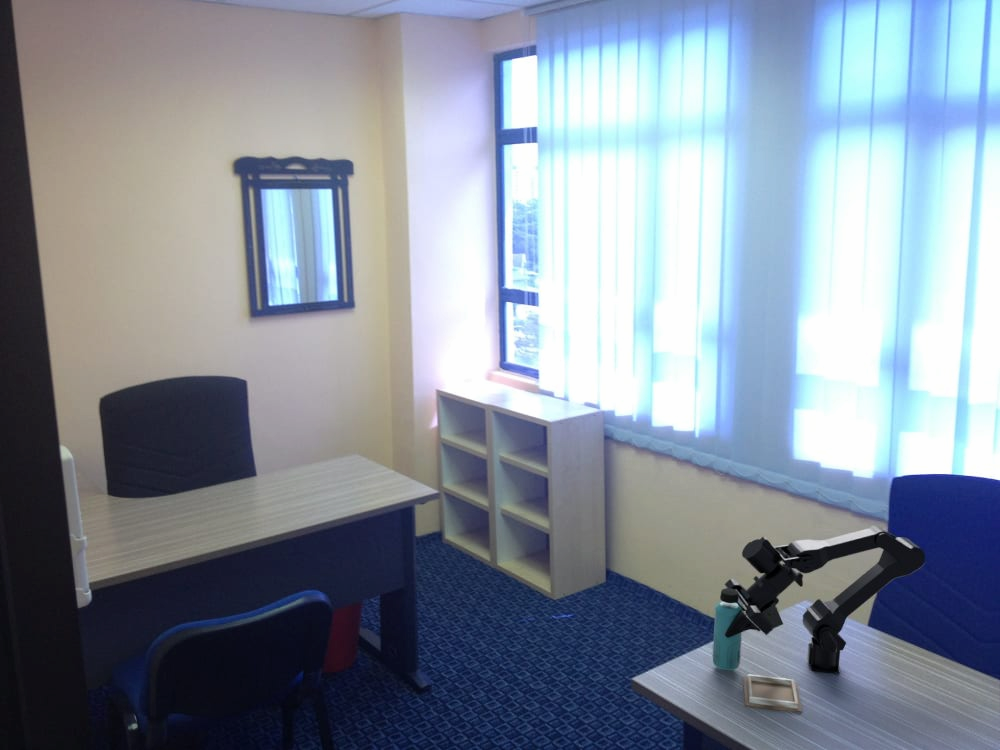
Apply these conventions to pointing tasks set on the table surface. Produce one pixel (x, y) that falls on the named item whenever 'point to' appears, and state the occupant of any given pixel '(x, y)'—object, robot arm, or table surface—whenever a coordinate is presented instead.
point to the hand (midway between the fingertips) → (721, 629)
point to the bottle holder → (772, 693)
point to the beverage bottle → (723, 647)
